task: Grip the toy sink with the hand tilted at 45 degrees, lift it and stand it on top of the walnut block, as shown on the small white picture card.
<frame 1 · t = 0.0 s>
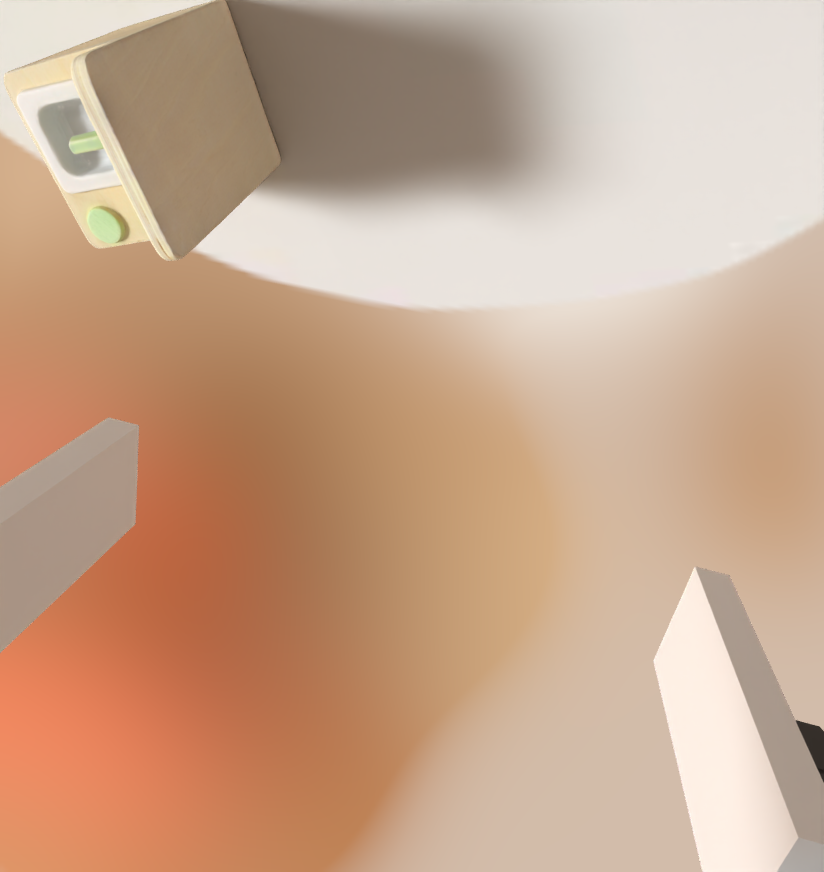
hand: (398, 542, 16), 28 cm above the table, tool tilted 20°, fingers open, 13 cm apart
toy sink: (204, 94, 39), on the table
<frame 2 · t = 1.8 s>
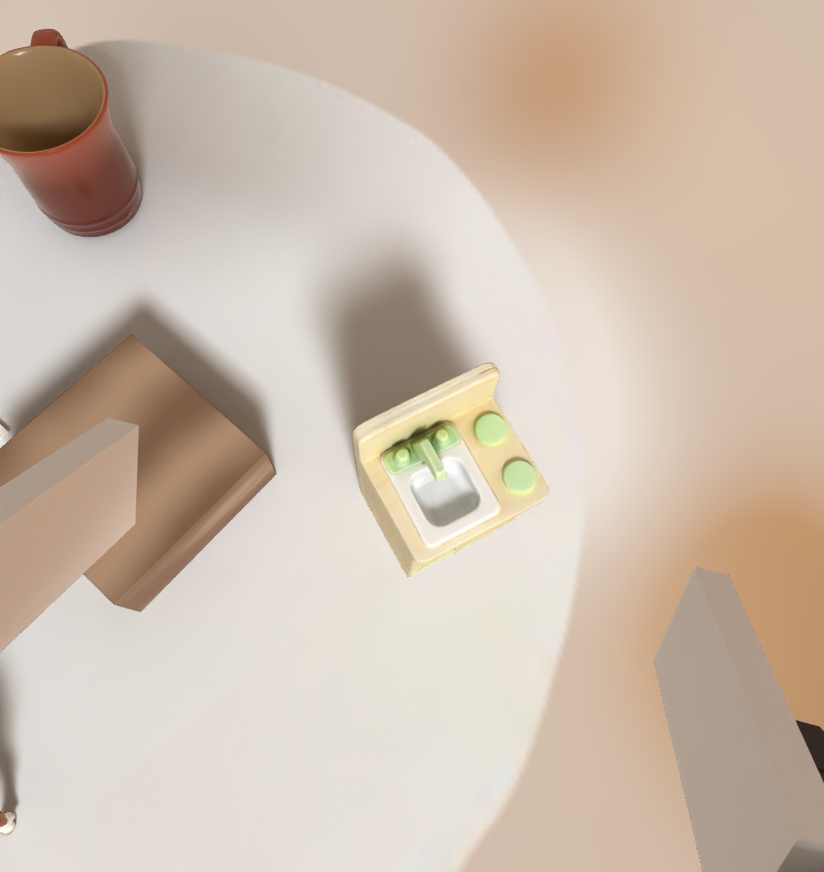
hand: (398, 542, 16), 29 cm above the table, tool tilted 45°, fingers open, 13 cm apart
mug: (98, 187, 54), on the table
walnut block: (149, 482, 47), on the table
toy sink: (437, 508, 47), on the table
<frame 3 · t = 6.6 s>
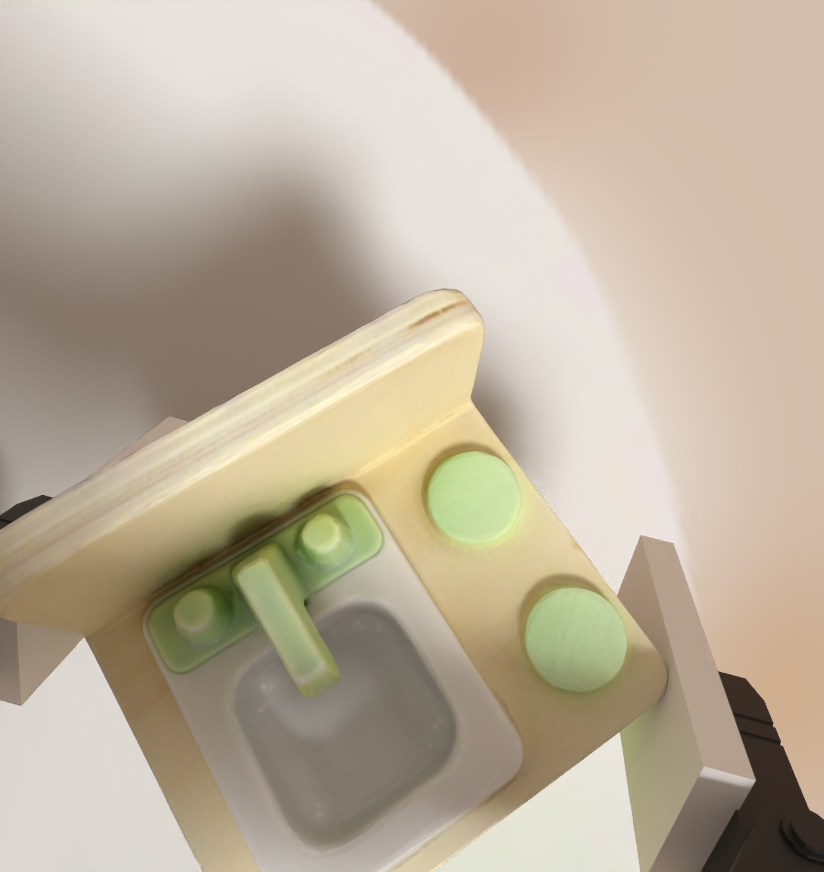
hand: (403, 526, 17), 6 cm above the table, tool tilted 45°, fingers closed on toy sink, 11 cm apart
toy sink: (377, 660, 21), on the table, touching gripper
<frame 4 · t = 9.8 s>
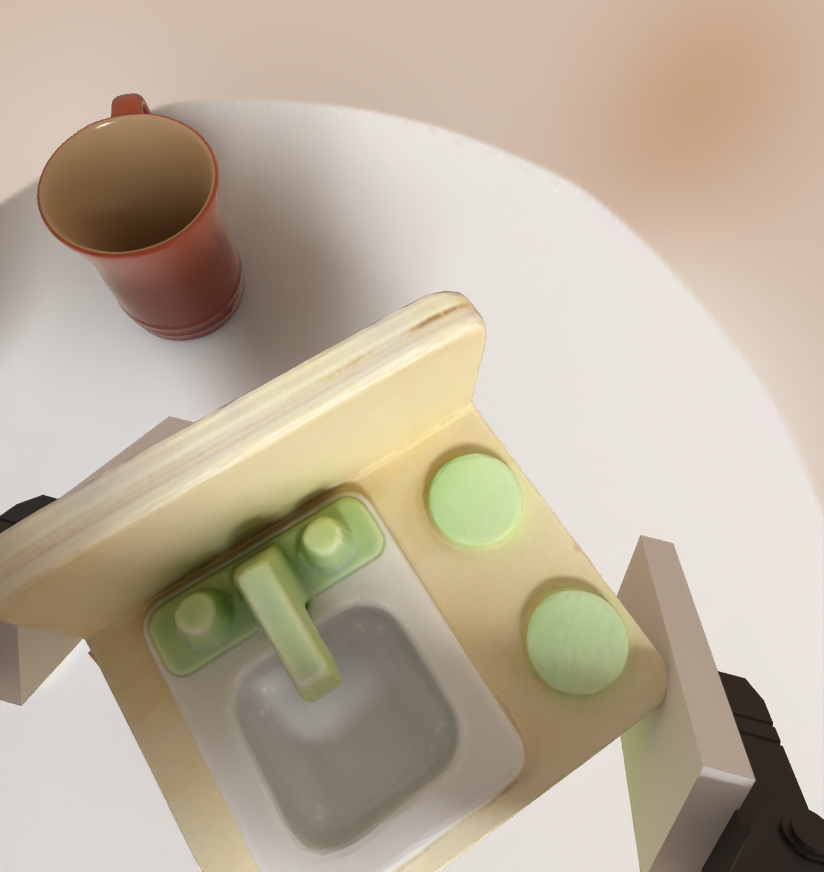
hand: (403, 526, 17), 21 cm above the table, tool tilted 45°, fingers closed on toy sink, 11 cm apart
mug: (188, 277, 44), on the table
toy sink: (378, 662, 21), point 15 cm above the table, touching gripper
when the fingers open (12 cm above the table, at t = 13.1 s): toy sink drops 2 cm, resting on walnut block.
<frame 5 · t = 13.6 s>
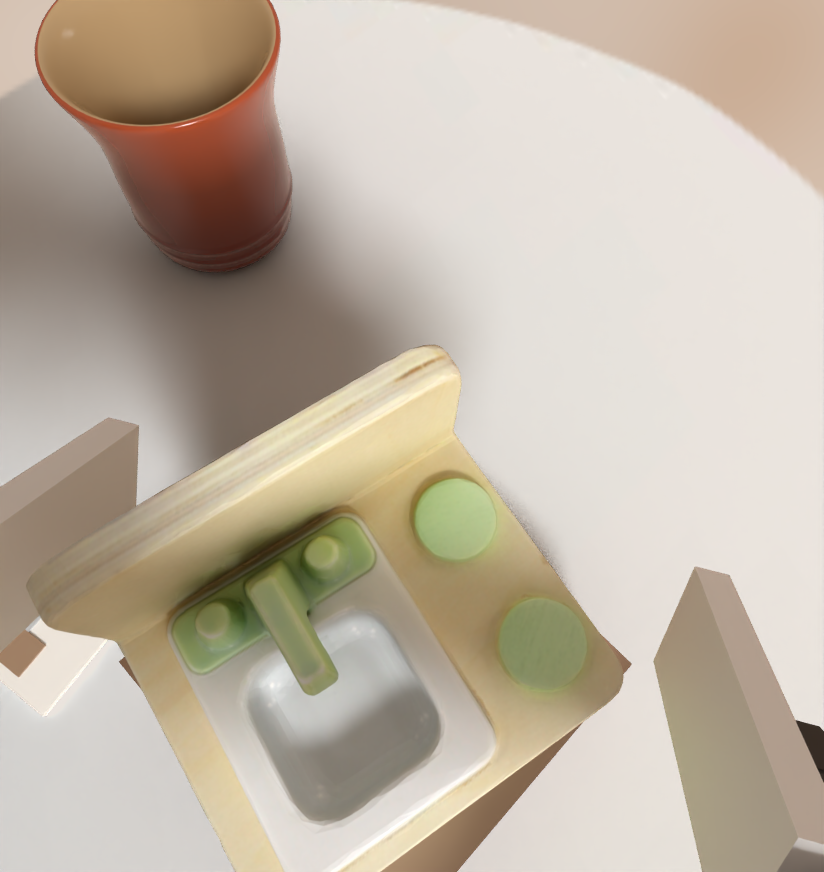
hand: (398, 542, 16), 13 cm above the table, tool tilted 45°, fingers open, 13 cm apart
mug: (219, 197, 35), on the table
walnut block: (380, 670, 28), on the table, touching toy sink
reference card: (27, 606, 28), on the table
toy sink: (375, 660, 23), point 4 cm above the table, touching walnut block
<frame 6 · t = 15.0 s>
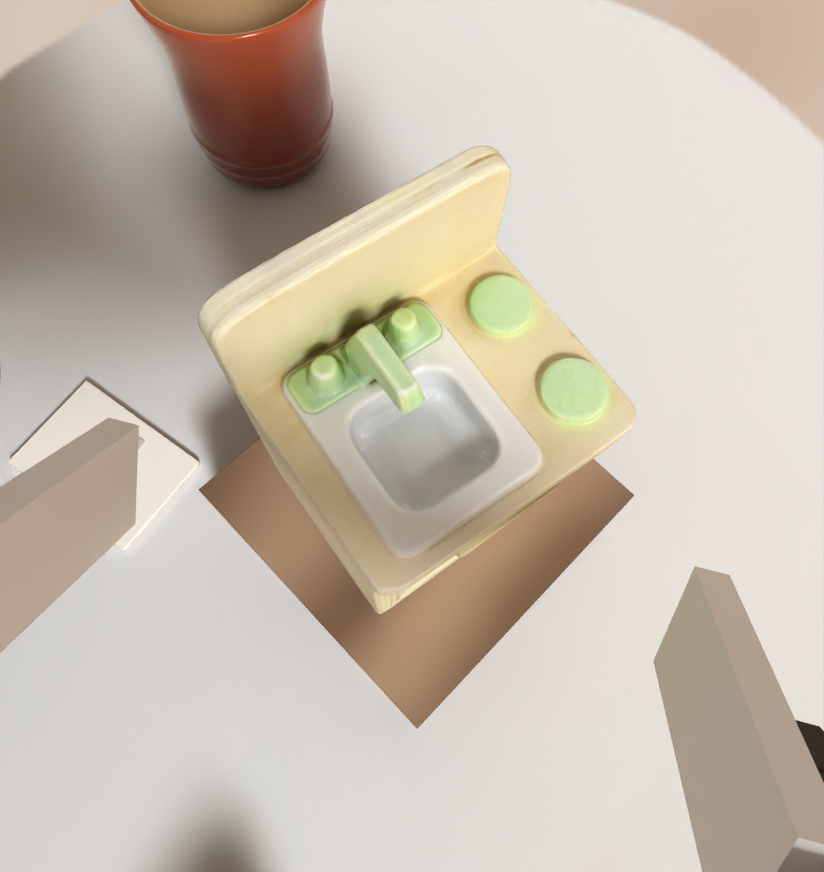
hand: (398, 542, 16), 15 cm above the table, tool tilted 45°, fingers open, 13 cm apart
mug: (265, 124, 39), on the table
walnut block: (414, 522, 32), on the table, touching toy sink
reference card: (105, 463, 32), on the table
toy sink: (416, 487, 27), point 4 cm above the table, touching walnut block
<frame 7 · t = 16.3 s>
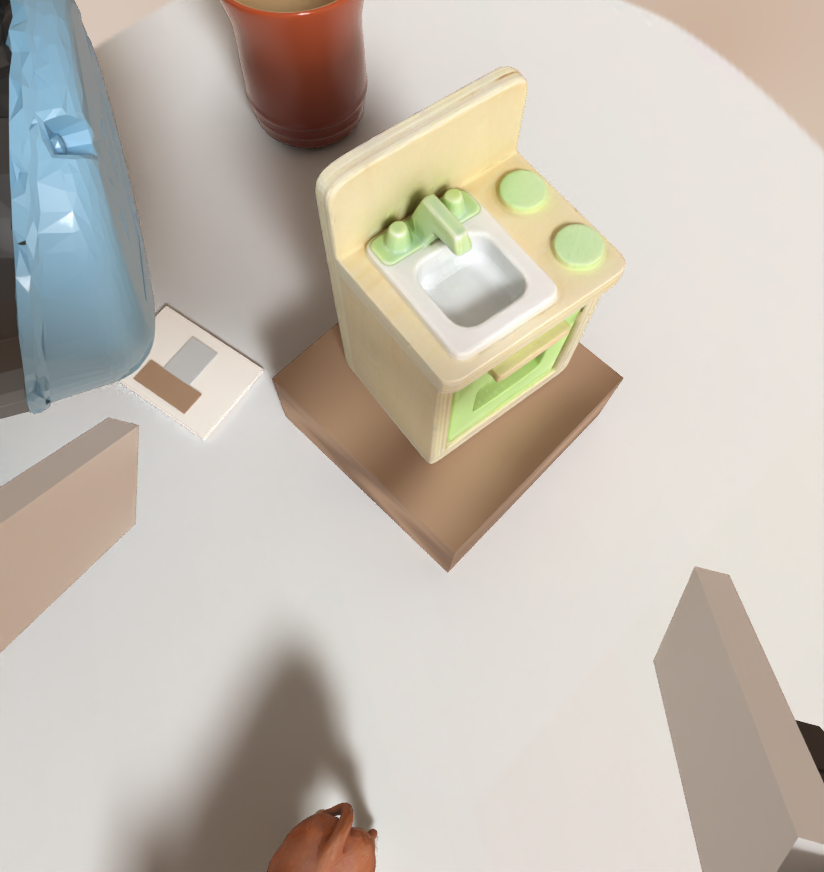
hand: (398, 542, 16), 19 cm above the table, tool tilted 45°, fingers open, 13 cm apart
mug: (306, 97, 46), on the table
walnut block: (442, 418, 38), on the table, touching toy sink
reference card: (185, 371, 38), on the table
toy sink: (455, 371, 34), point 4 cm above the table, touching walnut block
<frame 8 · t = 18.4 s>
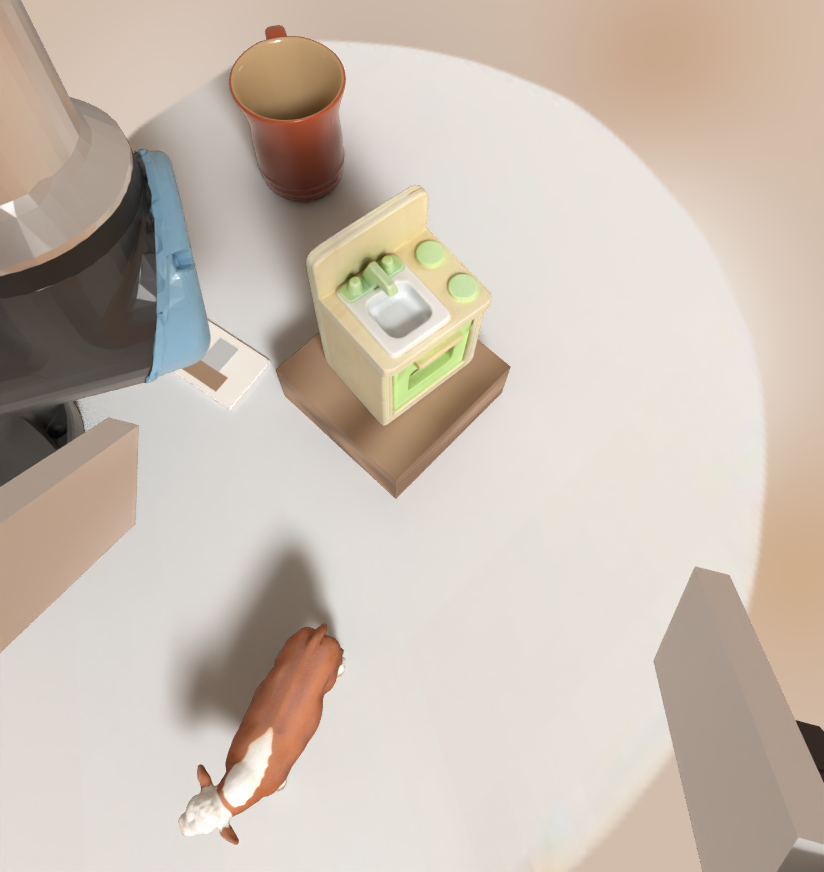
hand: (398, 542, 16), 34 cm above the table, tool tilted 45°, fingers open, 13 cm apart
mug: (300, 162, 63), on the table
walnut block: (393, 396, 55), on the table, touching toy sink
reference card: (215, 362, 55), on the table
toy sink: (399, 364, 51), point 4 cm above the table, touching walnut block
bull figurine: (284, 728, 46), on the table
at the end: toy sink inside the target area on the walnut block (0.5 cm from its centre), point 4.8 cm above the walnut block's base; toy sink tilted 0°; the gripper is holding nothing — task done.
